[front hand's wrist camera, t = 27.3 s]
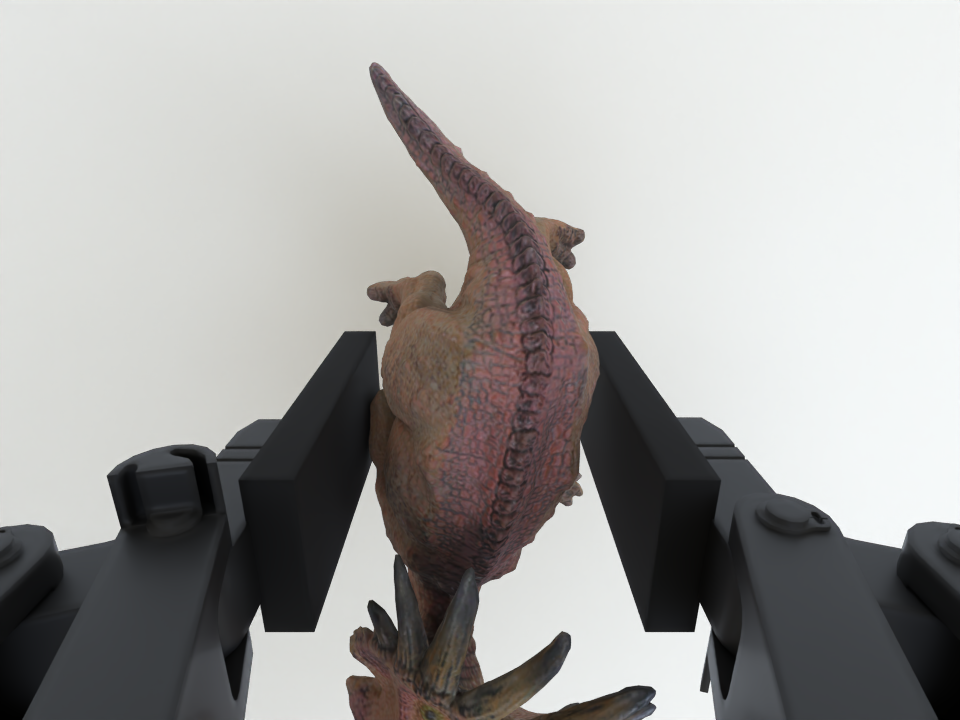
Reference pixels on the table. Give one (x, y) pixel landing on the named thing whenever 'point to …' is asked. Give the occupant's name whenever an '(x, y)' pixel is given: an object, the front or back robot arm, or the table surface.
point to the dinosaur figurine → (473, 445)
